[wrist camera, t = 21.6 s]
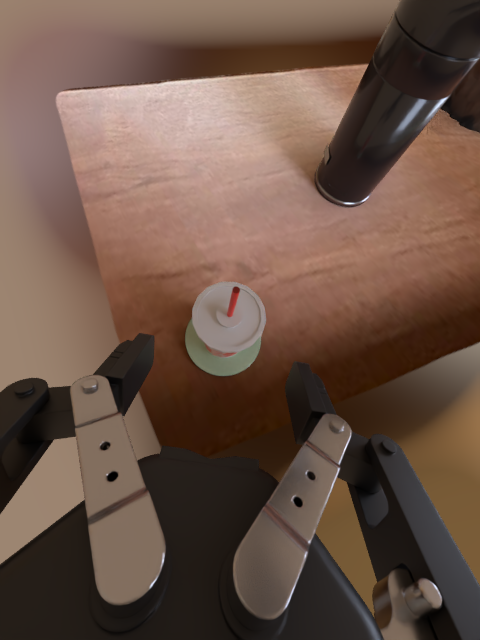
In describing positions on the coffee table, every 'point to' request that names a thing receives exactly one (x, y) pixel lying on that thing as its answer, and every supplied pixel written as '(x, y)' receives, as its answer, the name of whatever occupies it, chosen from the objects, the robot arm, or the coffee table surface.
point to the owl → (466, 100)
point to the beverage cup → (228, 318)
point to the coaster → (217, 364)
